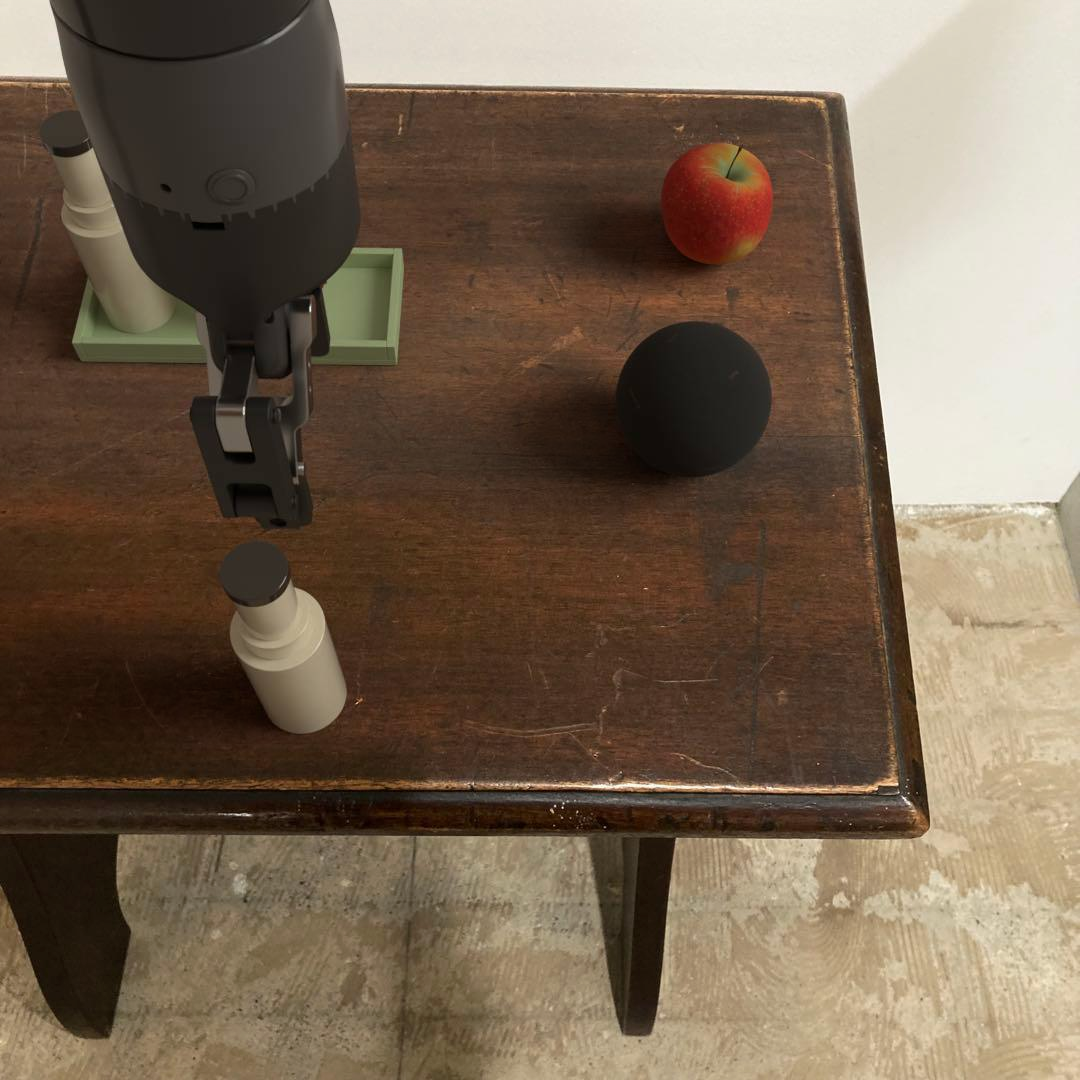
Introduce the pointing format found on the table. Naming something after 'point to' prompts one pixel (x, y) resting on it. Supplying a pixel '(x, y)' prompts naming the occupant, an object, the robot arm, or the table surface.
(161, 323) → the bottle
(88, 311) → the tray
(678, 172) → the apple
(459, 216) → the table surface
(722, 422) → the black ball
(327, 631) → the bottle
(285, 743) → the table surface
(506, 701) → the table surface
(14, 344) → the table surface
